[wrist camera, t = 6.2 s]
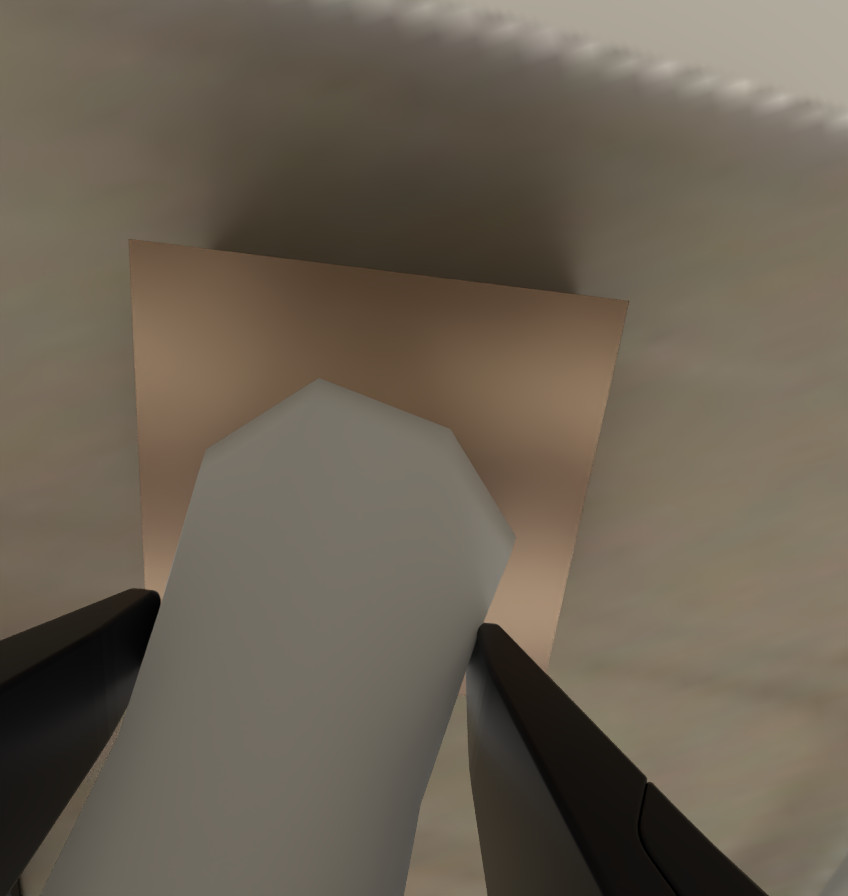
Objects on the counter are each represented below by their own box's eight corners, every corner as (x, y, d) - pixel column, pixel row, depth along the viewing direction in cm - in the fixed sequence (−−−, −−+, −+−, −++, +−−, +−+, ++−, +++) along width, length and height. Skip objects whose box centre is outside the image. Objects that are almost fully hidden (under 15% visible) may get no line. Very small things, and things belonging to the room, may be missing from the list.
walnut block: (515, 622, 19) (539, 702, 15) (206, 590, 18) (148, 664, 15) (578, 303, 15) (629, 300, 12) (203, 257, 15) (128, 238, 11)
